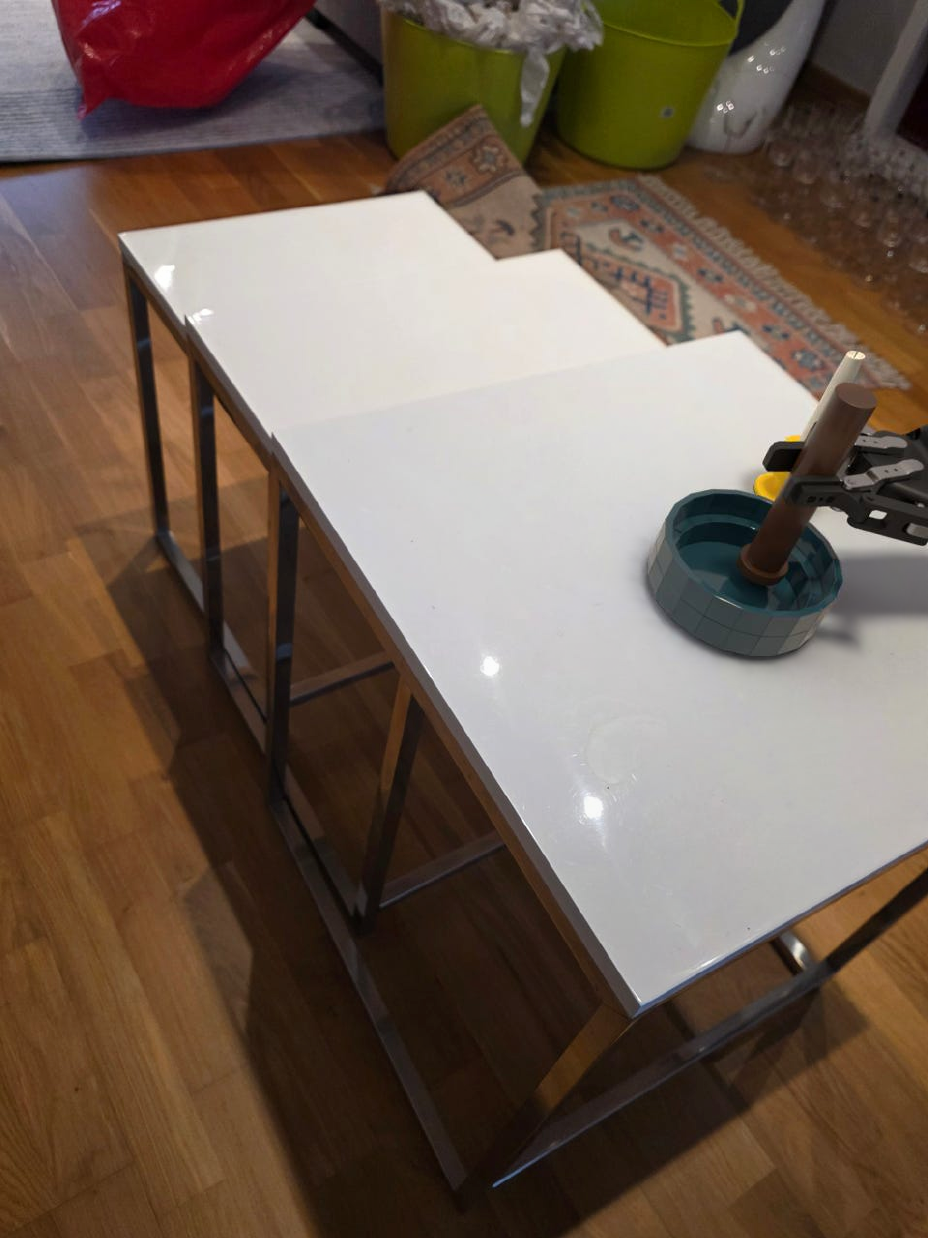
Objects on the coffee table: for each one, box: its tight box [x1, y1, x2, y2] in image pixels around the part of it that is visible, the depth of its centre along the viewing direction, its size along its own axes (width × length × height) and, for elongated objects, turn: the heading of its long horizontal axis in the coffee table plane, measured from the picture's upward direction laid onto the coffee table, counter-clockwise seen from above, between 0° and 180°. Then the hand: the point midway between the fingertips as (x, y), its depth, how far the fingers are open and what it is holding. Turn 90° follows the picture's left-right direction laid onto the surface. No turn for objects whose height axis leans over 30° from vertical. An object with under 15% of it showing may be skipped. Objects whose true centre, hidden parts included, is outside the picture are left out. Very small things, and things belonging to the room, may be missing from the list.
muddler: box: [736, 382, 879, 586], centre depth 72 cm, size 4×4×17 cm
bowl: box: [647, 488, 844, 657], centre depth 77 cm, size 14×14×5 cm
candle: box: [753, 348, 866, 501], centre depth 83 cm, size 5×5×16 cm
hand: (778, 473), depth 70 cm, fingers closed on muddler, 3 cm apart
